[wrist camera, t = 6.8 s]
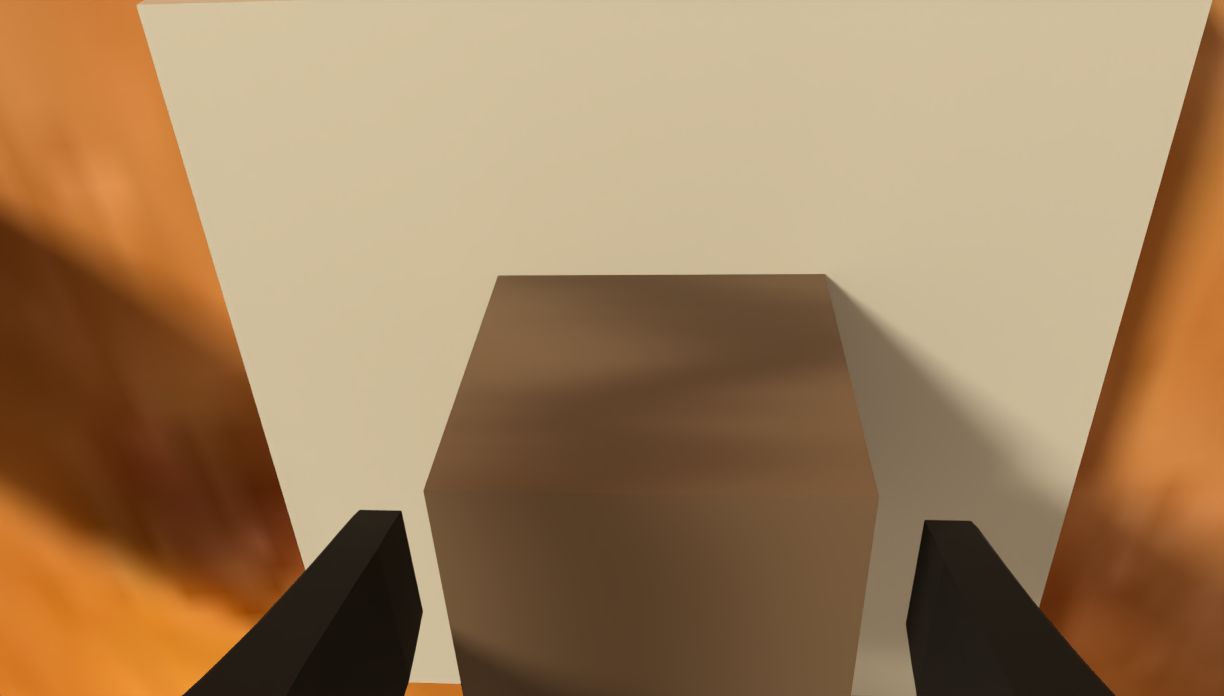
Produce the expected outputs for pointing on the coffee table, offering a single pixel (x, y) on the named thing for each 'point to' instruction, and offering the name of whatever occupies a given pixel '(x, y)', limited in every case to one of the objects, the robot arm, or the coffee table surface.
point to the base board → (684, 223)
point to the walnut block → (655, 490)
